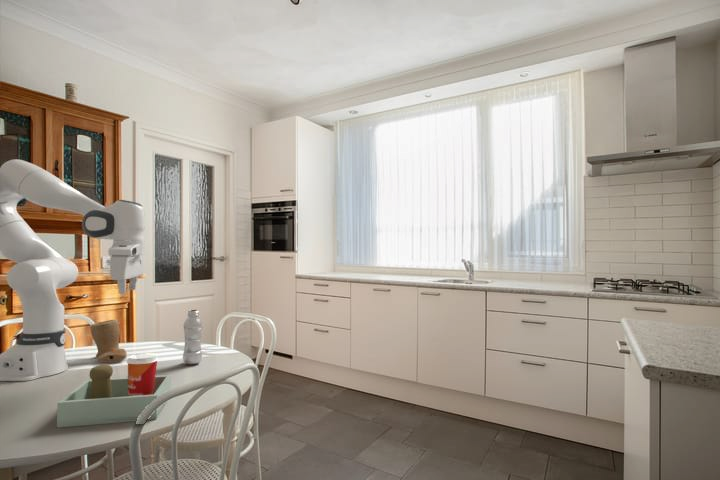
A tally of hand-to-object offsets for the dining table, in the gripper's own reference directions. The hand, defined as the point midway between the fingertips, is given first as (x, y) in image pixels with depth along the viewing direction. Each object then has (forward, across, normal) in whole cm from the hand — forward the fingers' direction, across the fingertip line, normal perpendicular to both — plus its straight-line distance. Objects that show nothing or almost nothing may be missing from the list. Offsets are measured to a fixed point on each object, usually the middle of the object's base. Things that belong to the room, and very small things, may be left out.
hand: (127, 291), depth 126 cm
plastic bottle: (+29, -15, +18) cm, 38 cm away
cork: (+28, +24, +1) cm, 37 cm away
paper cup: (+29, +24, +11) cm, 39 cm away
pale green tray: (+29, +24, +6) cm, 38 cm away
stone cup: (+29, -27, -14) cm, 42 cm away
